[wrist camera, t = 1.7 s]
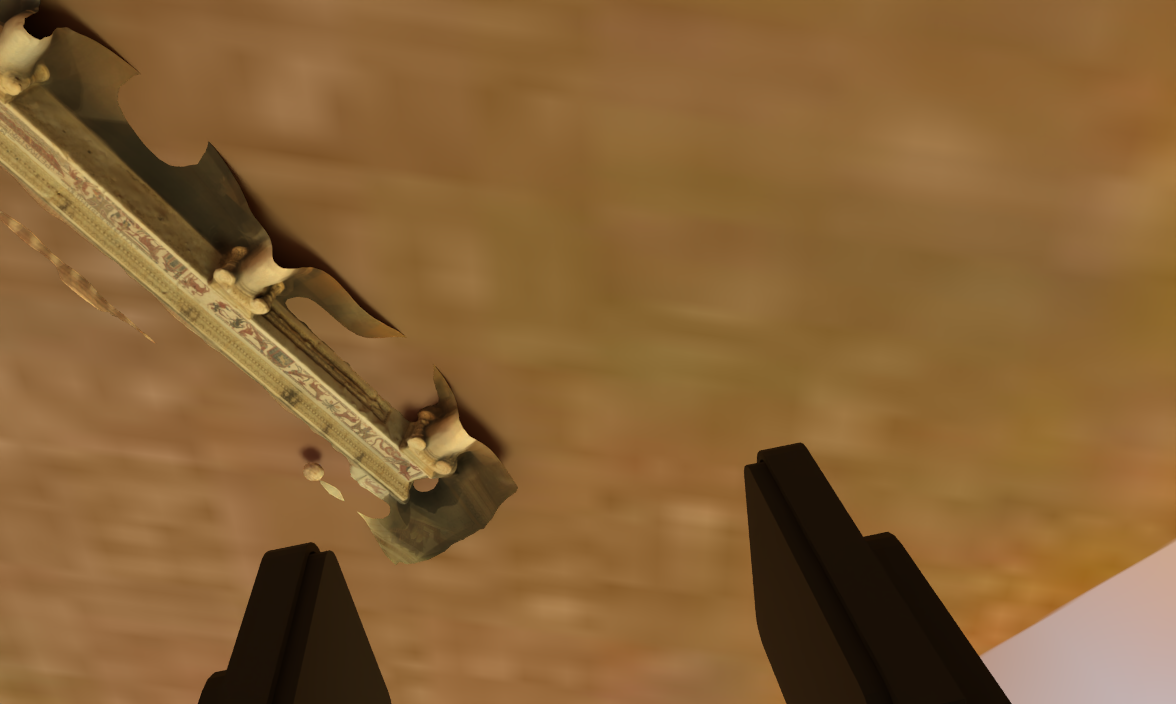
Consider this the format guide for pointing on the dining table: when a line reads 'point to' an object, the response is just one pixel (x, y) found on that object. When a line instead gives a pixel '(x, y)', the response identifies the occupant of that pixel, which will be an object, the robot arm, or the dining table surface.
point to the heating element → (226, 283)
